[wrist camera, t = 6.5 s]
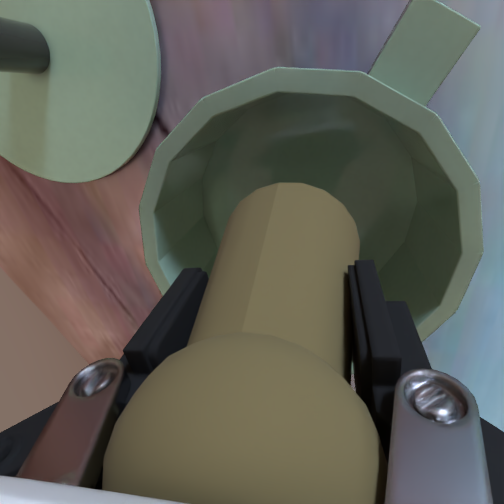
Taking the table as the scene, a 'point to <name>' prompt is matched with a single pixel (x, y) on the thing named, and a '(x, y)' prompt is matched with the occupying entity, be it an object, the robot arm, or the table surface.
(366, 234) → the pot
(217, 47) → the table surface
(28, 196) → the table surface
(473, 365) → the table surface
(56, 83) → the lid
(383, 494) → the cork
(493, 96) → the table surface
